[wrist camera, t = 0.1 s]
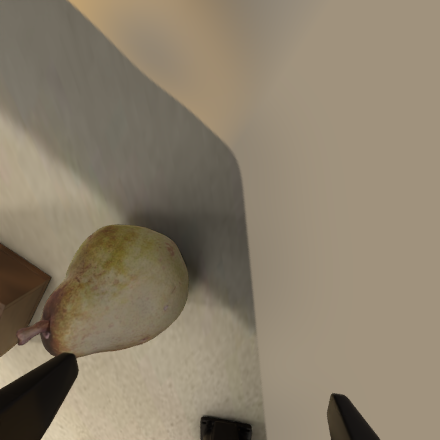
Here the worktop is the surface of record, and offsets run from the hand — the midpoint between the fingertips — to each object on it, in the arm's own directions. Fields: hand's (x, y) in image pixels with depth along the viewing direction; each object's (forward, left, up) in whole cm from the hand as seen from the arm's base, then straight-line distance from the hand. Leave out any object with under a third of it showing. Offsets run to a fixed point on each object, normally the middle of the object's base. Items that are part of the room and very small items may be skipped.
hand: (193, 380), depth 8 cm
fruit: (-3, +8, -15) cm, 17 cm away
